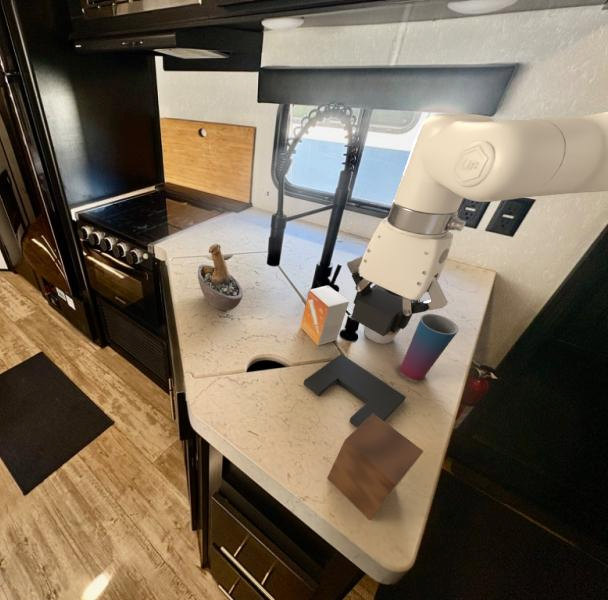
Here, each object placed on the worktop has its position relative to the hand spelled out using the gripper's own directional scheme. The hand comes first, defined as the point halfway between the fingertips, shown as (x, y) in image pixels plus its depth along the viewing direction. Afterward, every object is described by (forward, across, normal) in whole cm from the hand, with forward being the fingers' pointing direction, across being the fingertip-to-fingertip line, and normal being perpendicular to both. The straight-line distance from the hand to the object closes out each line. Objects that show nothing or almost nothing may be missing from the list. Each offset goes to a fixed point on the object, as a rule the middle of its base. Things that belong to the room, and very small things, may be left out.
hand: (377, 317), depth 53 cm
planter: (+24, +45, -1) cm, 51 cm away
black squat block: (+1, 0, 0) cm, 1 cm away
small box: (+24, +17, -14) cm, 33 cm away
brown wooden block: (+23, -12, +12) cm, 29 cm away
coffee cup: (+24, +7, -27) cm, 37 cm away
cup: (+24, -5, -21) cm, 32 cm away
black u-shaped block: (+24, 0, -4) cm, 24 cm away
